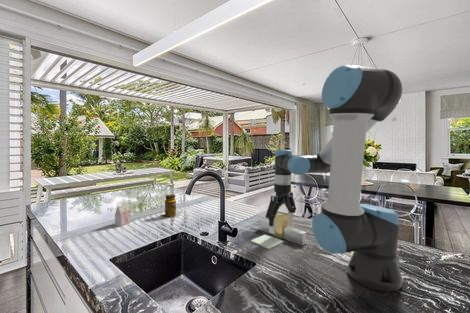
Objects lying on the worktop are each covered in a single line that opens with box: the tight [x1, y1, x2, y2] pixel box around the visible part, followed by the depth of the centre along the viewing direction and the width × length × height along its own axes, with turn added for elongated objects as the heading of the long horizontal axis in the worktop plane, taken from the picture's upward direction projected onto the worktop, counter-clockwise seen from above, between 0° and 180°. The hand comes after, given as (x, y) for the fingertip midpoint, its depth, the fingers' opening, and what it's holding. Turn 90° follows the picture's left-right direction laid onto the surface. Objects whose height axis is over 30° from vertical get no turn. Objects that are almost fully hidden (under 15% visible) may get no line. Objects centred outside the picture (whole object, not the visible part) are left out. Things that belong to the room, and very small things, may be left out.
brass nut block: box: [274, 212, 288, 239], centre depth 109 cm, size 4×4×10 cm
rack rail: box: [258, 218, 308, 246], centre depth 109 cm, size 24×3×5 cm, turn 43°
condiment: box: [159, 194, 178, 219], centre depth 136 cm, size 7×8×12 cm
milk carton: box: [114, 203, 132, 228], centre depth 122 cm, size 4×7×10 cm, turn 161°
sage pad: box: [250, 233, 285, 250], centre depth 103 cm, size 10×10×1 cm
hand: (281, 229), depth 109 cm, fingers open, 13 cm apart
